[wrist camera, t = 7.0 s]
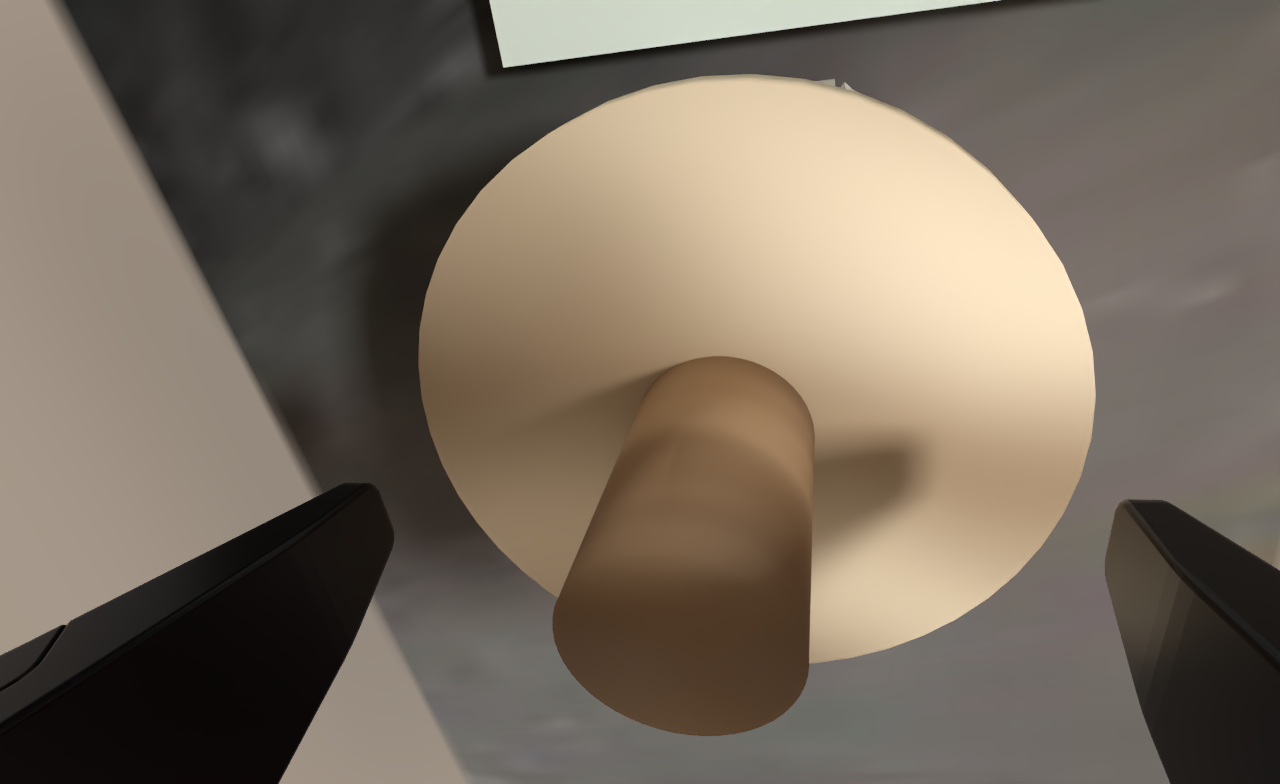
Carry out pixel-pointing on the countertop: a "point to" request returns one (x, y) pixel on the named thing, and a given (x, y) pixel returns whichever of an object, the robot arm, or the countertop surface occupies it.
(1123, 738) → the countertop surface
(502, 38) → the mat
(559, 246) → the lid
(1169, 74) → the countertop surface
